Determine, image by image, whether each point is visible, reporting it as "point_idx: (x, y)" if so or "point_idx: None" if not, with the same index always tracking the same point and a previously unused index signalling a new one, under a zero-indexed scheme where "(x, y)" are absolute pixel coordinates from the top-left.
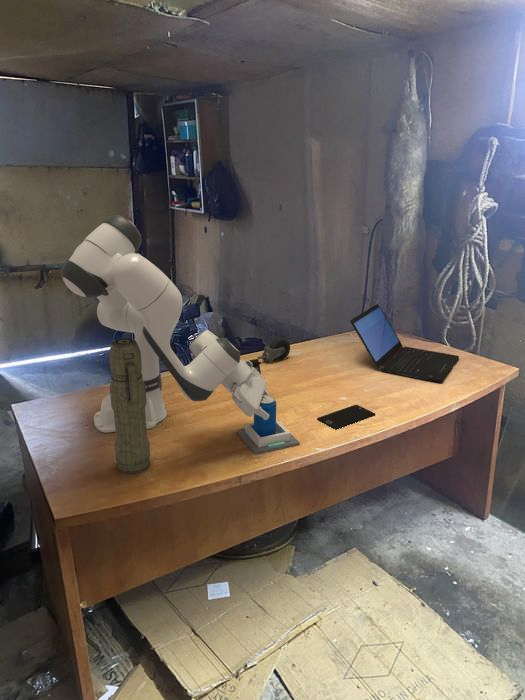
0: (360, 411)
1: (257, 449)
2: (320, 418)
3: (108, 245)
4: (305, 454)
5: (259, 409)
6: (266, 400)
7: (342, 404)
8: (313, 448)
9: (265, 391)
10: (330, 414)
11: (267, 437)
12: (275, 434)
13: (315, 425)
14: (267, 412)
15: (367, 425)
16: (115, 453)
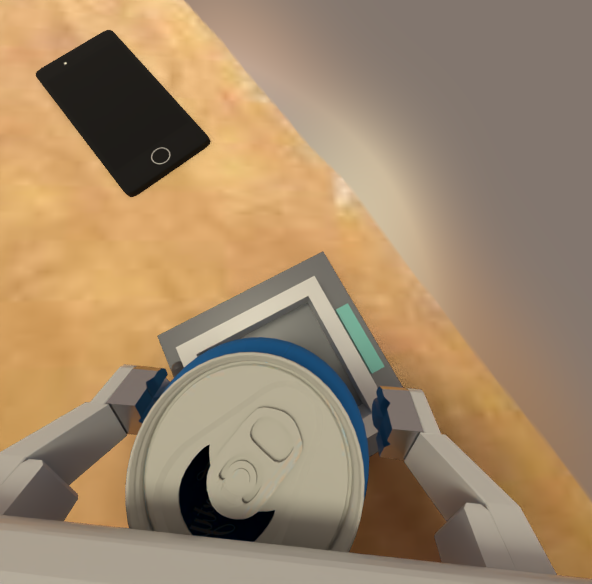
0: (89, 64)
1: None
2: (131, 181)
3: None
4: (385, 236)
5: (526, 532)
6: (265, 451)
7: (23, 115)
8: (341, 211)
9: (24, 481)
10: (102, 149)
11: (369, 378)
12: (336, 341)
13: (176, 202)
14: (395, 411)
15: (180, 58)
16: None
